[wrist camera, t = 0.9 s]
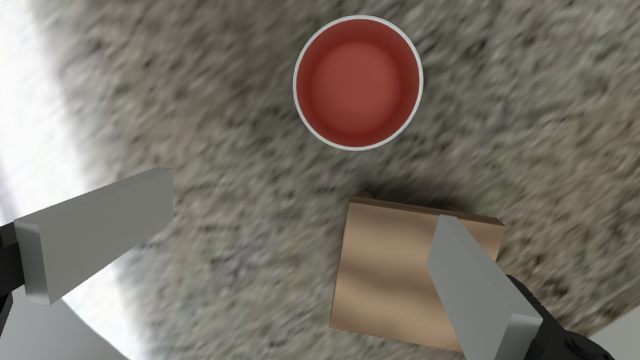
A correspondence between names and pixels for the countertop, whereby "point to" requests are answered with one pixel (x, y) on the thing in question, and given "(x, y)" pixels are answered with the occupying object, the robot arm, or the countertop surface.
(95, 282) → the countertop surface
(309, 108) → the cup
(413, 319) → the stool
